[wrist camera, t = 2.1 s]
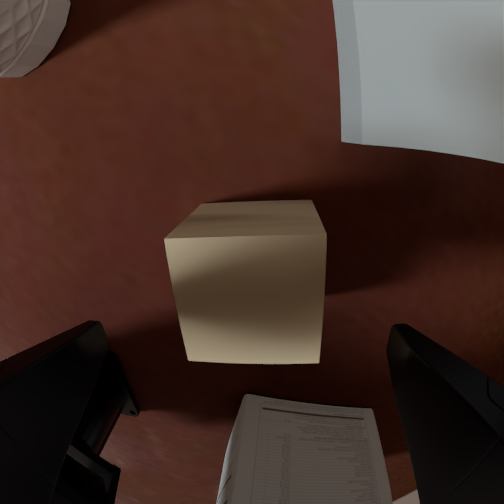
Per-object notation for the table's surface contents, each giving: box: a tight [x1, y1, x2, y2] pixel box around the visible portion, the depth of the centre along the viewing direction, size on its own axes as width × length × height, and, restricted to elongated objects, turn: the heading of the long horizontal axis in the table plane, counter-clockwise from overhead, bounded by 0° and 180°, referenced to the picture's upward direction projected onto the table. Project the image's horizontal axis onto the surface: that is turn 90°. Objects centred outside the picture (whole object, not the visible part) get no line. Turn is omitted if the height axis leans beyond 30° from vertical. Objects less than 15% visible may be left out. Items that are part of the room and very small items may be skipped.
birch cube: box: [164, 200, 327, 364], centre depth 12 cm, size 5×5×5 cm
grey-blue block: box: [333, 0, 504, 164], centre depth 8 cm, size 10×10×4 cm
